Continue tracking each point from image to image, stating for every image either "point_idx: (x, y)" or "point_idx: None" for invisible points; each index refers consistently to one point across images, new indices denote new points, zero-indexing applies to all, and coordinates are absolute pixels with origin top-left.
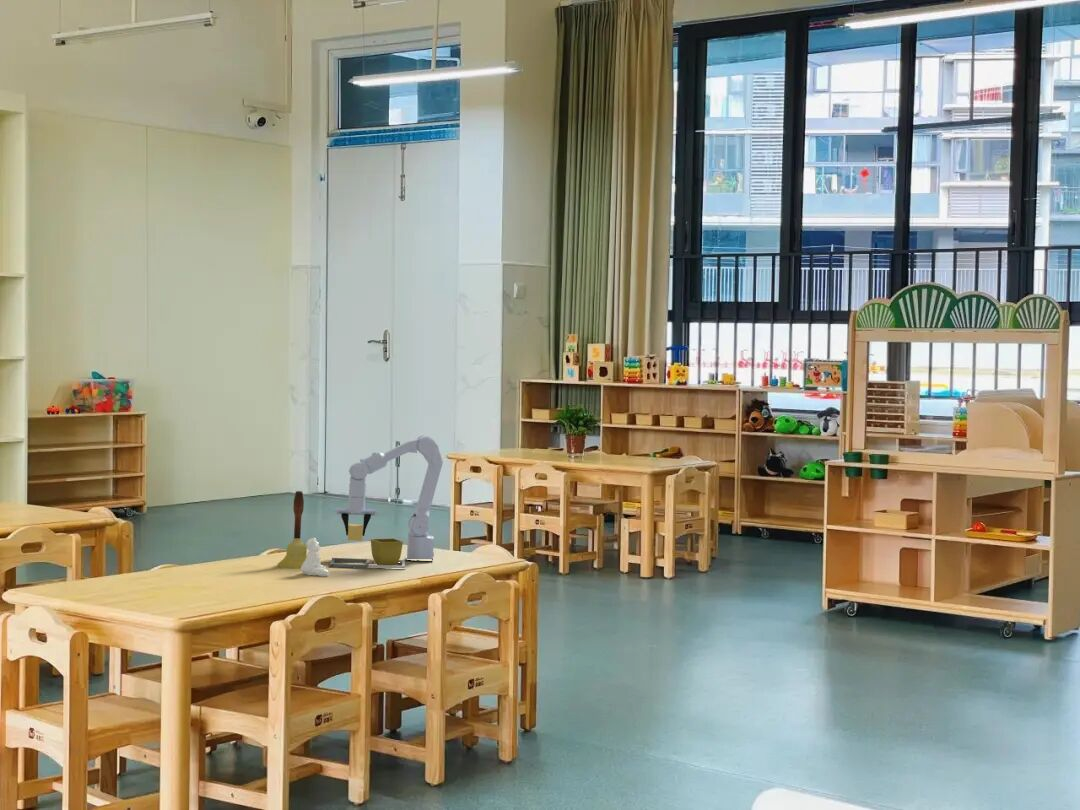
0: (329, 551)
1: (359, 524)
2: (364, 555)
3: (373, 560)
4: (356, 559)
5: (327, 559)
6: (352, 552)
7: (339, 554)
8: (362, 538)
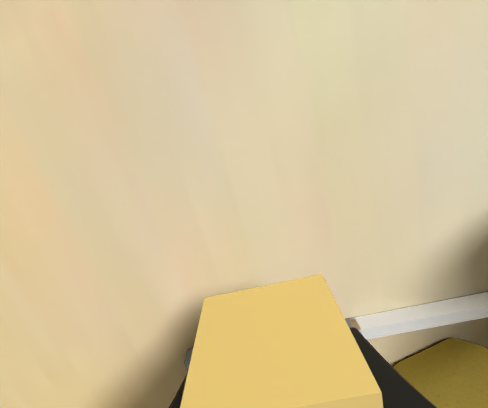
0: (35, 42)
1: (326, 402)
2: (287, 109)
3: (378, 334)
4: None
5: (150, 313)
6: (183, 12)
7: (141, 139)
8: (322, 275)
